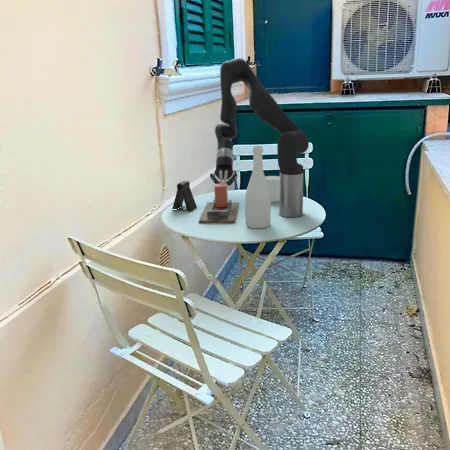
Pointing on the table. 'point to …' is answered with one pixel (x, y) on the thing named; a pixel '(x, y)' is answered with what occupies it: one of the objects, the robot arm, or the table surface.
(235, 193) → the table surface
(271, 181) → the mug
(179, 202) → the black a-frame stand
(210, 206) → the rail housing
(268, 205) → the wine bottle
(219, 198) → the orange upright block
